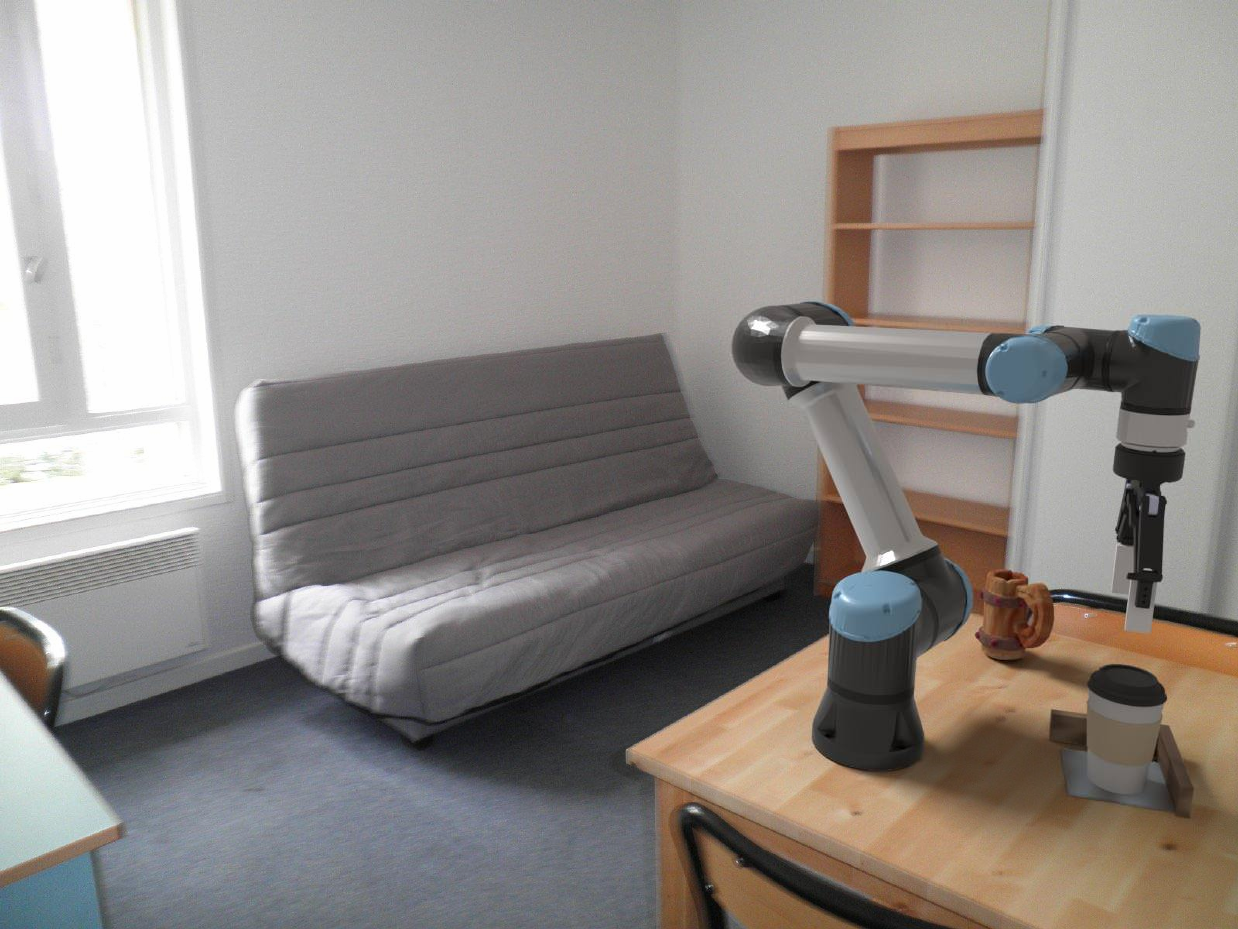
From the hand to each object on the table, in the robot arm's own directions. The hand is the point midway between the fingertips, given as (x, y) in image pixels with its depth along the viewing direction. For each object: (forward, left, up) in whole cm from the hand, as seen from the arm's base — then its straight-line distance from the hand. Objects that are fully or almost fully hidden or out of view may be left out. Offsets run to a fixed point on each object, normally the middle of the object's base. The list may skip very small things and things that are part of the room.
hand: (1129, 611), depth 125 cm
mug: (-11, +35, -23) cm, 43 cm away
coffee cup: (+1, -1, -23) cm, 23 cm away
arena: (+1, +1, -23) cm, 23 cm away
